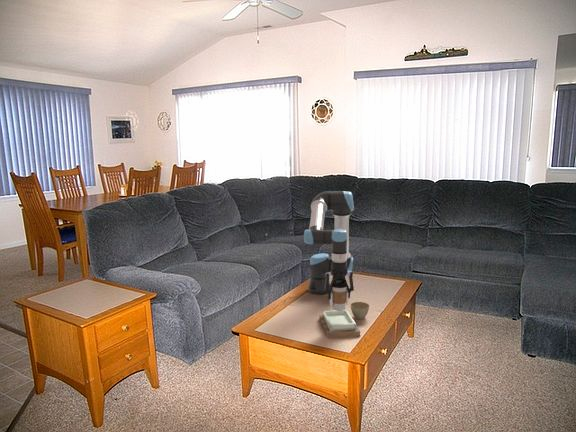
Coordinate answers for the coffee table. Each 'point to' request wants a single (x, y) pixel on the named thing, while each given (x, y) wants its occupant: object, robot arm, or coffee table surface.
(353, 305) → the flower pot
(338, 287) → the coffee cup
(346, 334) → the shelf board
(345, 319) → the tray
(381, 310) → the coffee table surface
